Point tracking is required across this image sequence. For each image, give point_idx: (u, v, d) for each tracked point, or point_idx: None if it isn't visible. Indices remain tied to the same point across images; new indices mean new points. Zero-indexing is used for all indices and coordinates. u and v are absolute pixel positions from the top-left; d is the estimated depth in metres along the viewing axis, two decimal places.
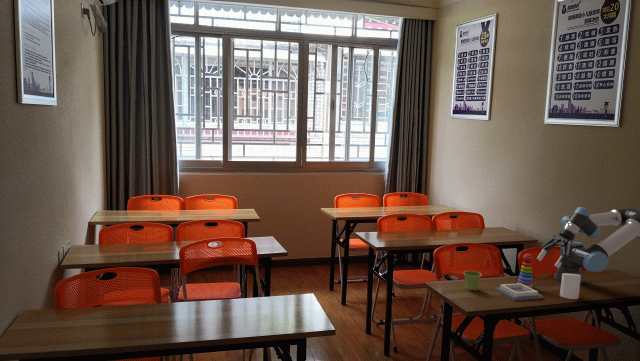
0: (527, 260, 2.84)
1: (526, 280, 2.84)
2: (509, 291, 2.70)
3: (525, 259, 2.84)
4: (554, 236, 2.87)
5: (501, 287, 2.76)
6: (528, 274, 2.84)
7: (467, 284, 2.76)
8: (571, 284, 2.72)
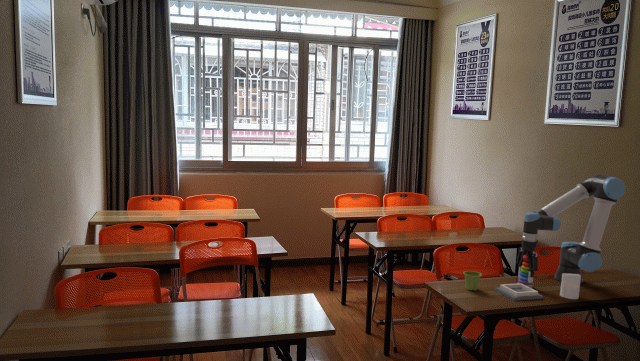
0: (527, 260, 2.84)
1: (526, 280, 2.83)
2: (509, 291, 2.70)
3: (525, 259, 2.84)
4: (519, 249, 2.90)
5: (501, 287, 2.76)
6: (528, 274, 2.84)
7: (467, 284, 2.76)
8: (571, 284, 2.72)
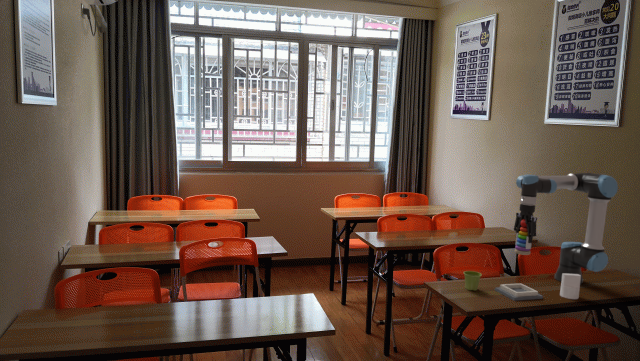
0: (525, 225, 2.68)
1: (524, 246, 2.68)
2: (509, 291, 2.70)
3: (523, 224, 2.69)
4: (517, 214, 2.74)
5: (501, 287, 2.76)
6: None
7: (467, 284, 2.76)
8: (571, 284, 2.72)
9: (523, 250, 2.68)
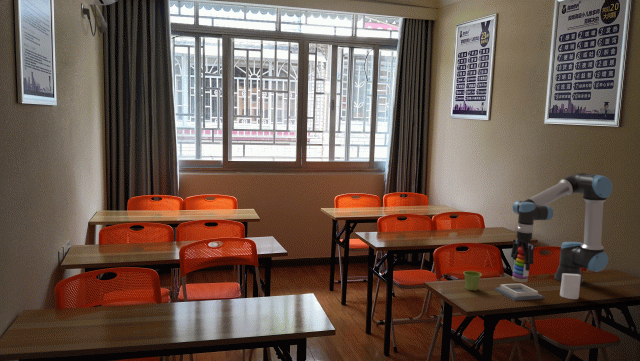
0: (522, 252, 2.68)
1: (521, 274, 2.68)
2: (509, 291, 2.70)
3: (520, 251, 2.69)
4: (514, 241, 2.75)
5: (501, 287, 2.76)
6: (523, 267, 2.68)
7: (467, 284, 2.76)
8: (571, 284, 2.72)
9: (520, 277, 2.68)
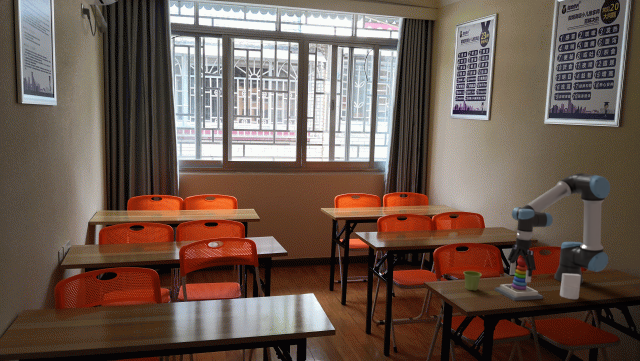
0: (522, 264, 2.69)
1: (520, 285, 2.69)
2: (509, 291, 2.70)
3: (519, 263, 2.69)
4: (513, 246, 2.75)
5: (501, 287, 2.76)
6: (522, 279, 2.69)
7: (467, 284, 2.76)
8: (571, 284, 2.72)
9: (519, 289, 2.69)
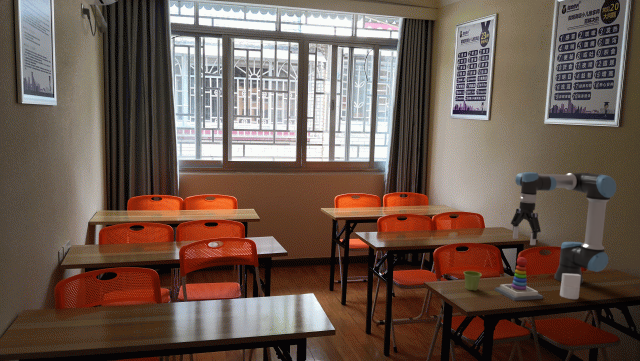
0: (521, 264, 2.69)
1: (520, 285, 2.69)
2: (509, 291, 2.70)
3: (519, 263, 2.70)
4: (517, 210, 2.73)
5: (501, 287, 2.76)
6: (522, 279, 2.69)
7: (467, 284, 2.76)
8: (571, 284, 2.72)
9: (519, 289, 2.69)
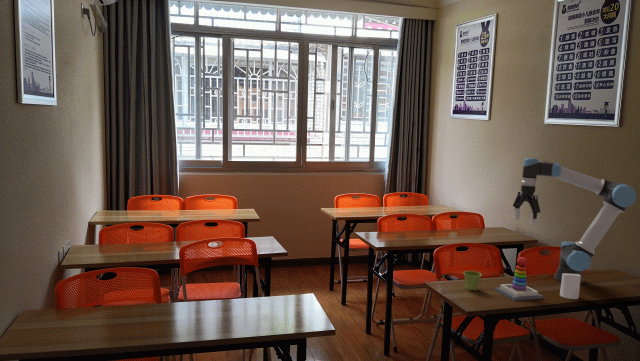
0: (521, 264, 2.69)
1: (520, 285, 2.69)
2: (509, 291, 2.70)
3: (519, 263, 2.70)
4: (519, 193, 2.97)
5: (501, 287, 2.76)
6: (522, 279, 2.69)
7: (467, 284, 2.76)
8: (571, 284, 2.72)
9: (519, 289, 2.69)
